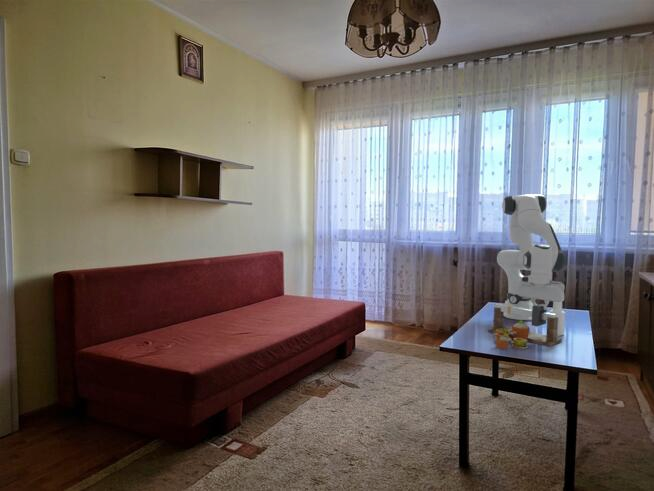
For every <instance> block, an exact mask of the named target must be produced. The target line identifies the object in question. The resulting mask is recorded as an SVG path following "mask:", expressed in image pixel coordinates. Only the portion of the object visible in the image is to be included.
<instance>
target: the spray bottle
mask: <svg viewBox="0 0 654 491" xmlns="http://www.w3.org/2000/svg"><path fill="white" fill-rule="evenodd" d="M548 313H553V314H557V317H558V329H557V336H564V335H565V325H566V312H565V311H564V310H563V302H553V301H552V309H550V310H549V312H548Z"/></svg>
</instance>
